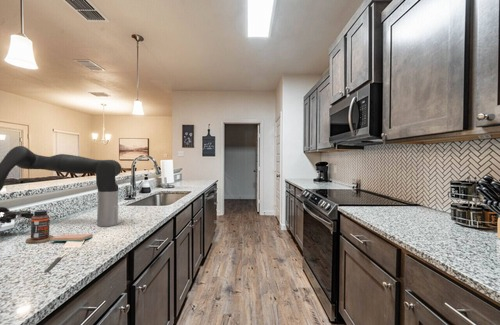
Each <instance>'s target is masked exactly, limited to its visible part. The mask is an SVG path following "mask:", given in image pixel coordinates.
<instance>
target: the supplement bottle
mask: <svg viewBox="0 0 500 325" xmlns="http://www.w3.org/2000/svg"><path fill="white" fill-rule="evenodd" d="M50 219H51V218H50V215H49V214H48V210H47V209H37V210H34V212H33V217H32V218H31V219H30V238H31V239H32V240H41V239H45V238H48V237H49V235H50V225H51V224H50V221H51V220H50Z"/></svg>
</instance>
